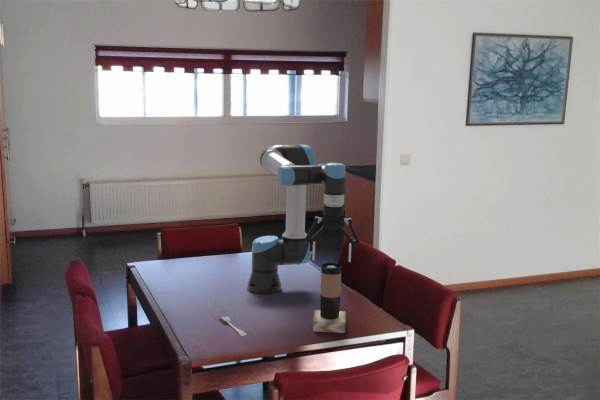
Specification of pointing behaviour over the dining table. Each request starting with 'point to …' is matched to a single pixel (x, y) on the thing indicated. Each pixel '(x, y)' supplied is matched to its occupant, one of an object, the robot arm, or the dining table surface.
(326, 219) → the robot arm
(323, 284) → the travel mug
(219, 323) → the dining table surface
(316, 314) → the stand
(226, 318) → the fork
